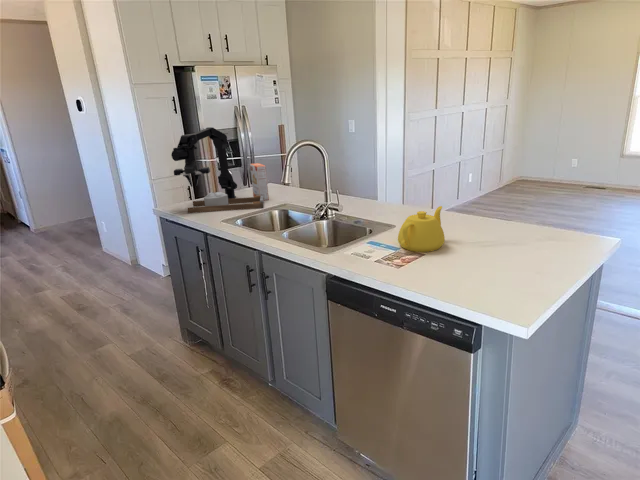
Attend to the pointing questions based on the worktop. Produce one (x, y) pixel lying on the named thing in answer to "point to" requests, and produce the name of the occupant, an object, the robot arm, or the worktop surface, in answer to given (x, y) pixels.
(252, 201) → the guide rails
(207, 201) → the lumpy-topped squat cylinder
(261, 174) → the cracker box
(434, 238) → the teapot
